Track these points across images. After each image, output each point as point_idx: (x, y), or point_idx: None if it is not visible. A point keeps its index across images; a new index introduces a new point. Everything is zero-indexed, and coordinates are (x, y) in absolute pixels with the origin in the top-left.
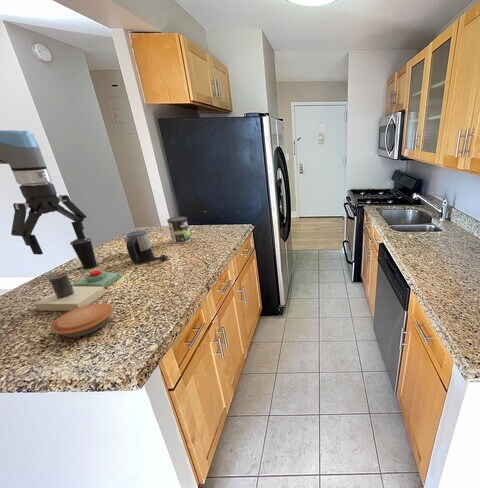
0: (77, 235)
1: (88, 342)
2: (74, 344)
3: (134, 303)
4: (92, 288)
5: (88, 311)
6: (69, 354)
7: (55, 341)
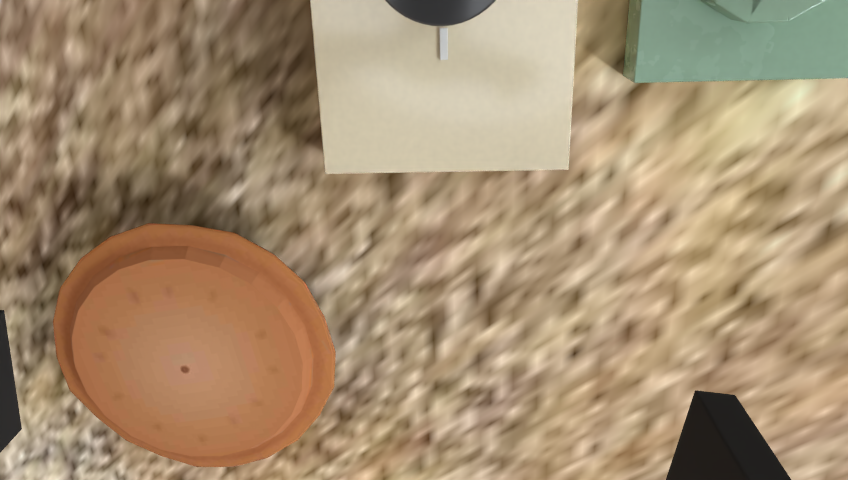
0: (716, 470)
1: None
2: None
3: (436, 412)
4: (541, 98)
5: (214, 380)
6: (40, 400)
7: None
